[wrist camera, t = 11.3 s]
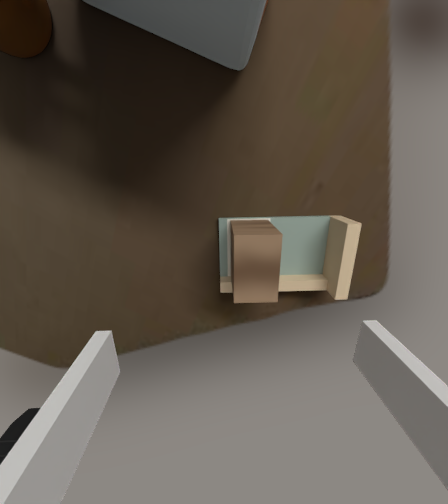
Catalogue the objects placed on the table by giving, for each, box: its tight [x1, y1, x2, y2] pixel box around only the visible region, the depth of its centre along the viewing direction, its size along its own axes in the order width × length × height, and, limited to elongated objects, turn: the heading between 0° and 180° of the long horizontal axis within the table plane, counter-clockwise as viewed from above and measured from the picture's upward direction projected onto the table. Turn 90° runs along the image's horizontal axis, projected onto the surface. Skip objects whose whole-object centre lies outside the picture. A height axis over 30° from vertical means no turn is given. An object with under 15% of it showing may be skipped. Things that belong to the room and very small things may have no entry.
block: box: [230, 220, 283, 303], centre depth 28 cm, size 8×5×8 cm, turn 1°
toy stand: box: [219, 216, 362, 300], centre depth 30 cm, size 17×10×5 cm, turn 91°
